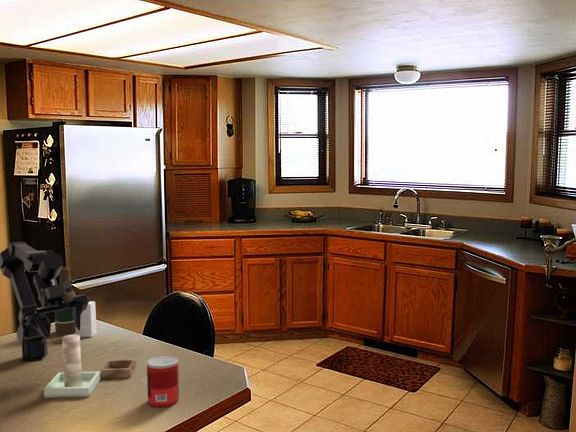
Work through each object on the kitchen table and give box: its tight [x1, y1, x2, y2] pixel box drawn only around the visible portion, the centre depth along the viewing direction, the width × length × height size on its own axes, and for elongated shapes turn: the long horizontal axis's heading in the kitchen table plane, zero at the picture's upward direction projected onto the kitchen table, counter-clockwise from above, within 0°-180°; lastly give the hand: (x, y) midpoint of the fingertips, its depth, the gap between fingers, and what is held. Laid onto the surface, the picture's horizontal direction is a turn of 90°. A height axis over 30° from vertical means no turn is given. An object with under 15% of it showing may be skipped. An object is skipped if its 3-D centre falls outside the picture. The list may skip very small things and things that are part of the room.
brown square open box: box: [101, 358, 137, 379], centre depth 166 cm, size 8×8×2 cm
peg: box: [61, 334, 83, 387], centre depth 154 cm, size 4×4×14 cm
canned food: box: [146, 355, 180, 408], centre depth 146 cm, size 8×8×11 cm
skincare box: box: [75, 301, 98, 338], centre depth 201 cm, size 6×4×12 cm
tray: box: [43, 371, 101, 399], centre depth 155 cm, size 12×12×2 cm
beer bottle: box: [54, 266, 77, 336], centre depth 204 cm, size 8×8×24 cm
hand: (63, 334), depth 160 cm, fingers open, 9 cm apart
